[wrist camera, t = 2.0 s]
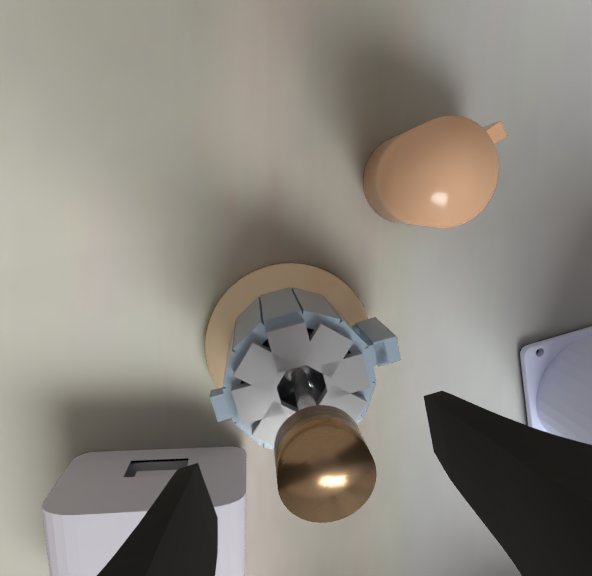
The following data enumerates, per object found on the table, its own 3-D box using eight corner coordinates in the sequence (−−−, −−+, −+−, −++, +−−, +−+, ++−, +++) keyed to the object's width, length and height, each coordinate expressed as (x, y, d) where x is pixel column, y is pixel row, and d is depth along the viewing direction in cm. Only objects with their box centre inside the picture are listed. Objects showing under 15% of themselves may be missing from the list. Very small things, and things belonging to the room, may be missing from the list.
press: (353, 242, 20) (389, 256, 15) (385, 391, 23) (426, 448, 17) (184, 288, 20) (160, 318, 15) (232, 436, 22) (227, 508, 17)
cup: (390, 239, 21) (428, 248, 16) (347, 167, 20) (375, 157, 15) (478, 178, 21) (542, 170, 16) (440, 103, 19) (496, 72, 15)
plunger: (331, 317, 17) (385, 392, 10) (350, 398, 18) (411, 517, 11) (240, 342, 17) (233, 437, 10) (264, 423, 18) (274, 560, 11)
